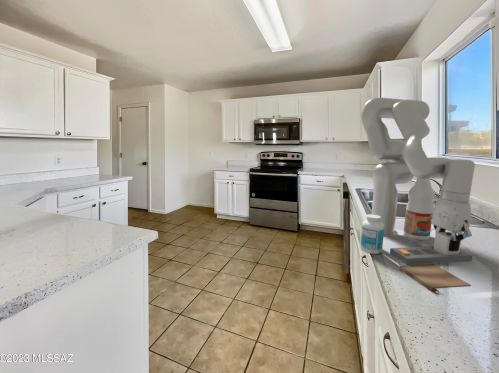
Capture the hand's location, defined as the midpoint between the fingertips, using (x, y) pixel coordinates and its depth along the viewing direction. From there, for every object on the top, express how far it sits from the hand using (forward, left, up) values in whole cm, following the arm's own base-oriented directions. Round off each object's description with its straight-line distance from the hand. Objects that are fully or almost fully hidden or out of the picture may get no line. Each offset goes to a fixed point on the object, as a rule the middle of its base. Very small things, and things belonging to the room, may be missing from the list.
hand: (446, 247), depth 85 cm
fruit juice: (-19, +5, -5) cm, 20 cm away
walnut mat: (+11, -15, -4) cm, 19 cm away
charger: (0, 0, -3) cm, 3 cm away
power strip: (0, -6, -4) cm, 7 cm away
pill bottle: (-9, -22, -5) cm, 24 cm away
